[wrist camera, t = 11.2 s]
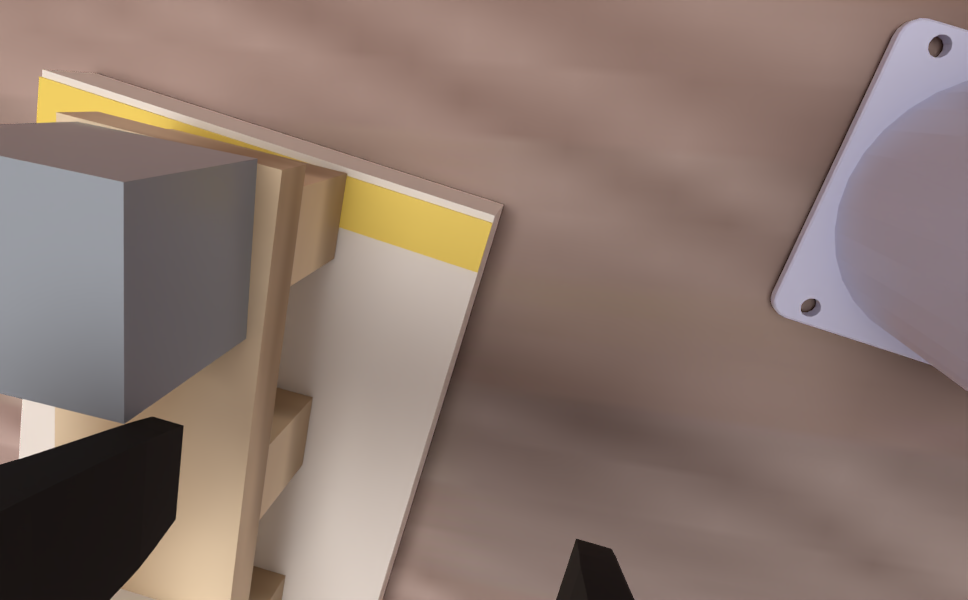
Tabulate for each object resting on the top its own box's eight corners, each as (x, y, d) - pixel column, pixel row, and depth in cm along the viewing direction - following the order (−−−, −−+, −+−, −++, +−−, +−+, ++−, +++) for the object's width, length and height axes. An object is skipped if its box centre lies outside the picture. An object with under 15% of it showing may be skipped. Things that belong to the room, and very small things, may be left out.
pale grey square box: (257, 158, 13) (123, 181, 9) (246, 338, 14) (124, 424, 10) (76, 121, 13) (-125, 129, 10) (81, 300, 15) (-95, 369, 11)
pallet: (350, 154, 17) (282, 169, 13) (275, 640, 22) (212, 751, 18) (172, 110, 17) (55, 111, 13) (142, 599, 23) (53, 699, 19)
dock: (503, 204, 19) (494, 216, 17) (372, 634, 24) (352, 681, 22) (95, 73, 19) (39, 69, 17) (56, 519, 25) (10, 556, 23)
